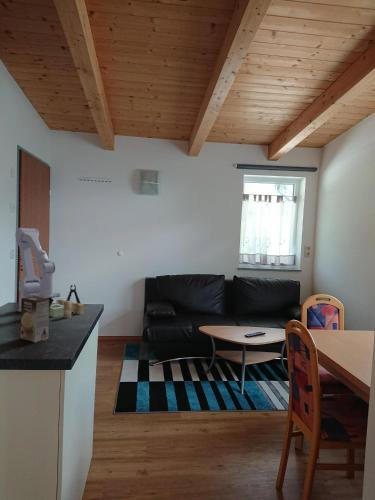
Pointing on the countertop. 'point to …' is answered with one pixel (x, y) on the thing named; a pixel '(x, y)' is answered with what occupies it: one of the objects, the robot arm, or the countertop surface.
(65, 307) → the dowel
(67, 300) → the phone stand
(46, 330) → the coffee box
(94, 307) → the countertop surface
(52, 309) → the socket block
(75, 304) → the oak wall
